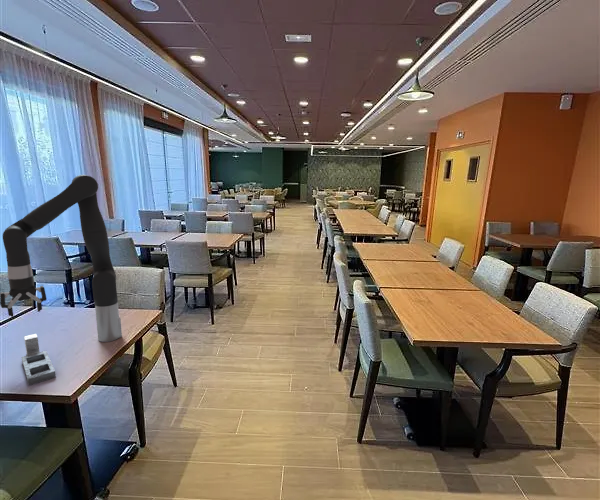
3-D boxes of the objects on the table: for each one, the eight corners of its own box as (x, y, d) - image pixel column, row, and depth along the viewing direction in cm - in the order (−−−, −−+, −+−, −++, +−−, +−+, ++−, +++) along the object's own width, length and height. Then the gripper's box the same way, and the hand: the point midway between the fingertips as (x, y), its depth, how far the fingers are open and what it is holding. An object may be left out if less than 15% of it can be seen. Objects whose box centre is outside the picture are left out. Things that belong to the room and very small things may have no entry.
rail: (47, 356, 138) (46, 350, 137) (55, 377, 124) (55, 371, 124) (22, 362, 132) (21, 357, 132) (28, 385, 119) (27, 379, 118)
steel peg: (38, 350, 142) (36, 333, 140) (39, 354, 139) (37, 336, 137) (26, 353, 139) (24, 336, 137) (27, 357, 136) (25, 339, 135)
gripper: (-3, 281, 125) (3, 321, 128) (44, 274, 134) (49, 312, 138) (-4, 276, 130) (2, 315, 133) (41, 270, 140) (46, 306, 143)
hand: (26, 313), depth 135 cm, fingers open, 8 cm apart
